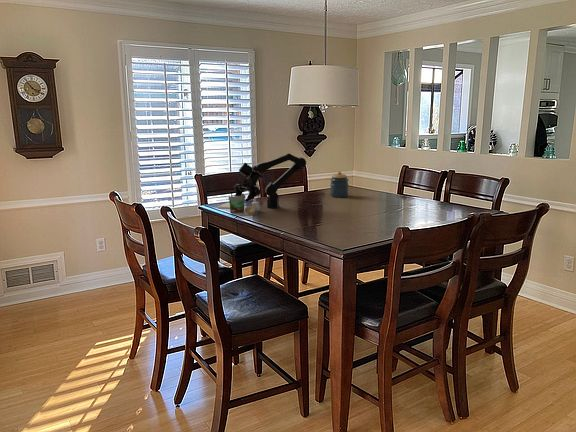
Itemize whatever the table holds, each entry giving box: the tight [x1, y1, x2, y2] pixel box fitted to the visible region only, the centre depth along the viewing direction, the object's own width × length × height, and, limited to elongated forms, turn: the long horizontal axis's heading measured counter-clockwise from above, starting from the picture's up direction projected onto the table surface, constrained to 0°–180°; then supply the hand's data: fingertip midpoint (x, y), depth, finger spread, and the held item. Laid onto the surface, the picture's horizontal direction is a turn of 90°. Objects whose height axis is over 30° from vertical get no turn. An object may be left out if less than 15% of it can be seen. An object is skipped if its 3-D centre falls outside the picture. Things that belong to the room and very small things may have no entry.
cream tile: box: [217, 202, 247, 210], centre depth 298 cm, size 13×14×1 cm
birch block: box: [244, 205, 256, 216], centre depth 273 cm, size 4×4×4 cm
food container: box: [228, 193, 247, 214], centre depth 281 cm, size 12×6×10 cm, turn 143°
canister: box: [329, 171, 349, 198], centre depth 331 cm, size 13×13×18 cm
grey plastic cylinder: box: [250, 201, 260, 213], centre depth 284 cm, size 5×5×5 cm
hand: (240, 200), depth 281 cm, fingers open, 9 cm apart
